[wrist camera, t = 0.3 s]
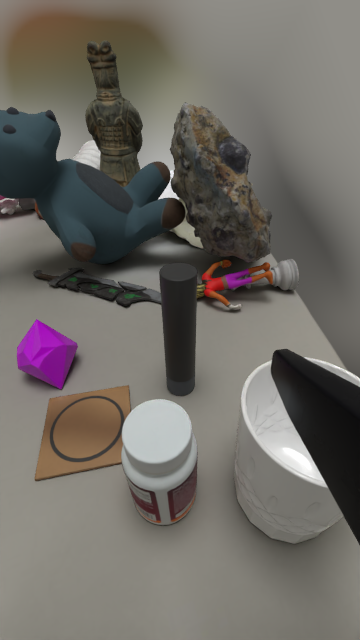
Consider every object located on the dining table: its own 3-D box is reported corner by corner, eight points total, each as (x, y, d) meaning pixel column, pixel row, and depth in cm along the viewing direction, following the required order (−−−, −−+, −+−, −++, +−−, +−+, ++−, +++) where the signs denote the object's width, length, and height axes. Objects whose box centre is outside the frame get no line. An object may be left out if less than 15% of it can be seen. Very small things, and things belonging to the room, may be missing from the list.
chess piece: (301, 276, 39) (228, 287, 40) (294, 294, 43) (227, 304, 43) (292, 252, 41) (223, 262, 42) (286, 272, 45) (222, 281, 46)
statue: (154, 211, 71) (142, 46, 53) (146, 225, 64) (129, 38, 46) (110, 210, 73) (84, 48, 54) (98, 224, 65) (62, 41, 47)
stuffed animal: (202, 240, 41) (0, 27, 21) (114, 304, 48) (-103, 194, 28) (168, 159, 54) (22, -23, 33) (102, 219, 61) (-53, 100, 40)
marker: (197, 393, 28) (201, 278, 20) (169, 398, 28) (162, 282, 20) (191, 372, 31) (192, 260, 22) (165, 376, 30) (156, 264, 22)
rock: (171, 164, 26) (336, 96, 24) (141, 105, 39) (247, 59, 38) (220, 325, 45) (313, 292, 44) (189, 249, 58) (260, 222, 57)
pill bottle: (190, 453, 24) (191, 388, 18) (201, 520, 20) (206, 463, 15) (132, 462, 23) (116, 397, 18) (132, 532, 19) (112, 477, 14)
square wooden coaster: (134, 460, 23) (134, 458, 23) (35, 481, 22) (34, 479, 22) (128, 387, 29) (128, 384, 29) (50, 400, 28) (49, 397, 28)
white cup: (358, 554, 18) (446, 488, 12) (234, 556, 18) (258, 491, 12) (312, 438, 24) (355, 355, 18) (220, 439, 25) (231, 357, 18)
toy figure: (184, 274, 44) (179, 264, 41) (263, 256, 42) (264, 243, 40) (190, 321, 40) (186, 312, 38) (278, 303, 38) (279, 293, 36)
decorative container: (107, 216, 69) (124, 185, 81) (95, 164, 60) (116, 138, 72) (61, 215, 70) (84, 184, 82) (42, 164, 61) (72, 138, 73)
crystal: (17, 379, 30) (0, 347, 27) (52, 346, 34) (40, 315, 31) (58, 393, 29) (44, 361, 26) (89, 356, 33) (80, 325, 30)
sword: (185, 293, 43) (165, 317, 38) (54, 263, 51) (23, 280, 46) (185, 289, 42) (165, 313, 37) (53, 260, 50) (21, 276, 45)
